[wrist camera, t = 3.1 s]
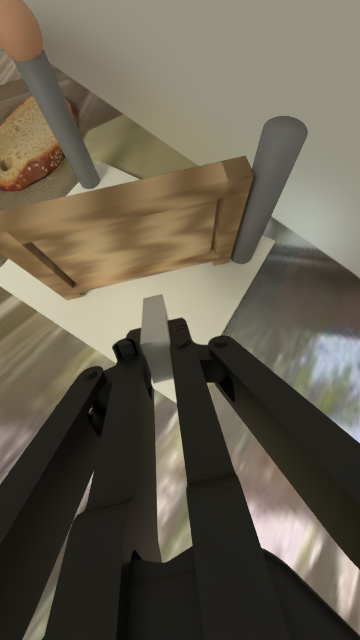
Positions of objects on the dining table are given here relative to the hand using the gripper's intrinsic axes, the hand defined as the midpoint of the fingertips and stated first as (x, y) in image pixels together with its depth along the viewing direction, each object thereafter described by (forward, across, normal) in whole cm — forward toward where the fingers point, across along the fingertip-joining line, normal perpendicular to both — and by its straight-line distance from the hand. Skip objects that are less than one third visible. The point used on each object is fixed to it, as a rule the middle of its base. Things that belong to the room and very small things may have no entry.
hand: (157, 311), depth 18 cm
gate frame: (+16, -3, +1) cm, 16 cm away
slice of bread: (+36, -16, +20) cm, 44 cm away
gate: (+13, -1, 0) cm, 13 cm away
